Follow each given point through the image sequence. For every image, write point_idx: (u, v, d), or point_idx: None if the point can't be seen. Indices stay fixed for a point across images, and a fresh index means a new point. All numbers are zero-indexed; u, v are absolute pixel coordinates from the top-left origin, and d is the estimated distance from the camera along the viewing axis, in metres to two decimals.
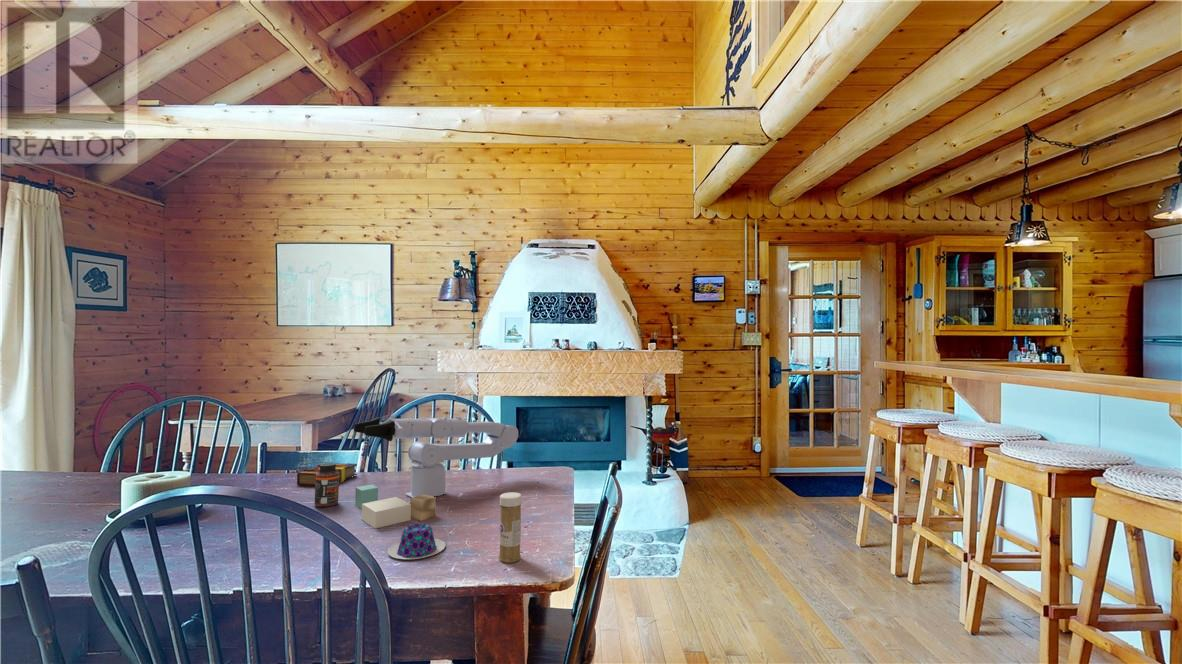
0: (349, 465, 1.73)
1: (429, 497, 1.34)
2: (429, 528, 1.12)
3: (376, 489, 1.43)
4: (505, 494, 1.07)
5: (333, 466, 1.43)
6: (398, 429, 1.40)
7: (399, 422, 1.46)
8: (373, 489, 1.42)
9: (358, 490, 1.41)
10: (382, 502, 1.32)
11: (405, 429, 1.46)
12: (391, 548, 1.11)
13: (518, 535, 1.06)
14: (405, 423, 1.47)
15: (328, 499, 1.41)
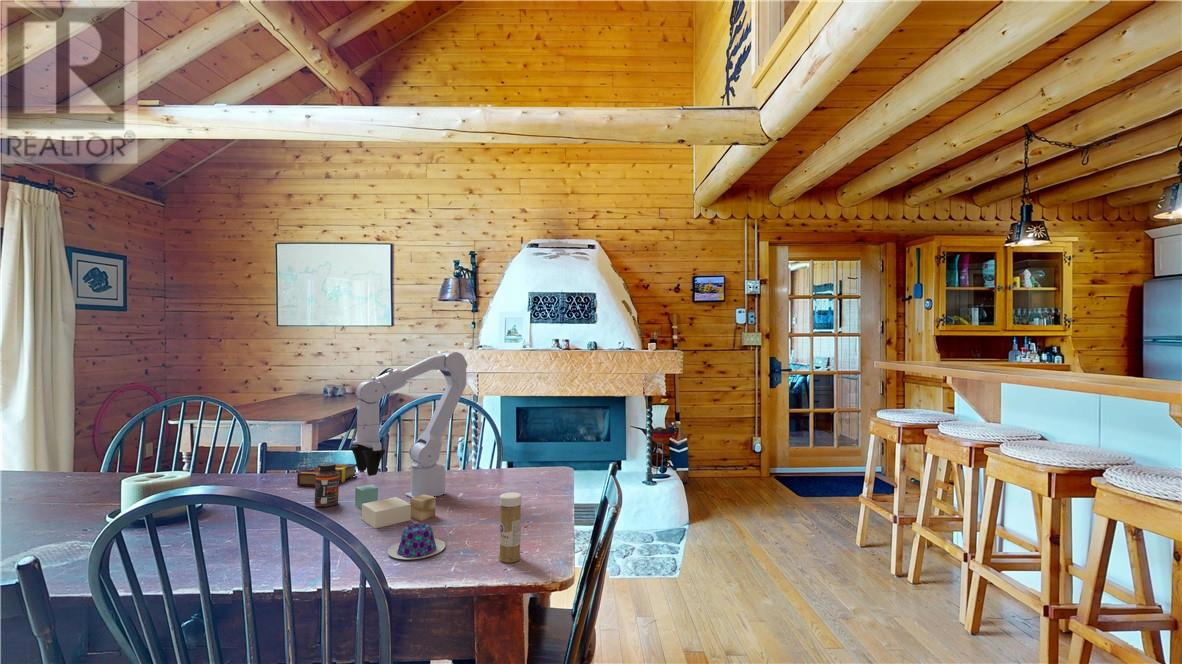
0: (349, 465, 1.72)
1: (429, 497, 1.34)
2: (429, 528, 1.12)
3: (376, 489, 1.43)
4: (505, 494, 1.07)
5: (333, 466, 1.43)
6: (375, 449, 1.38)
7: (363, 438, 1.41)
8: (373, 489, 1.42)
9: (358, 490, 1.41)
10: (382, 502, 1.32)
11: (371, 431, 1.41)
12: (391, 548, 1.11)
13: (518, 535, 1.06)
14: (364, 431, 1.41)
15: (328, 499, 1.41)
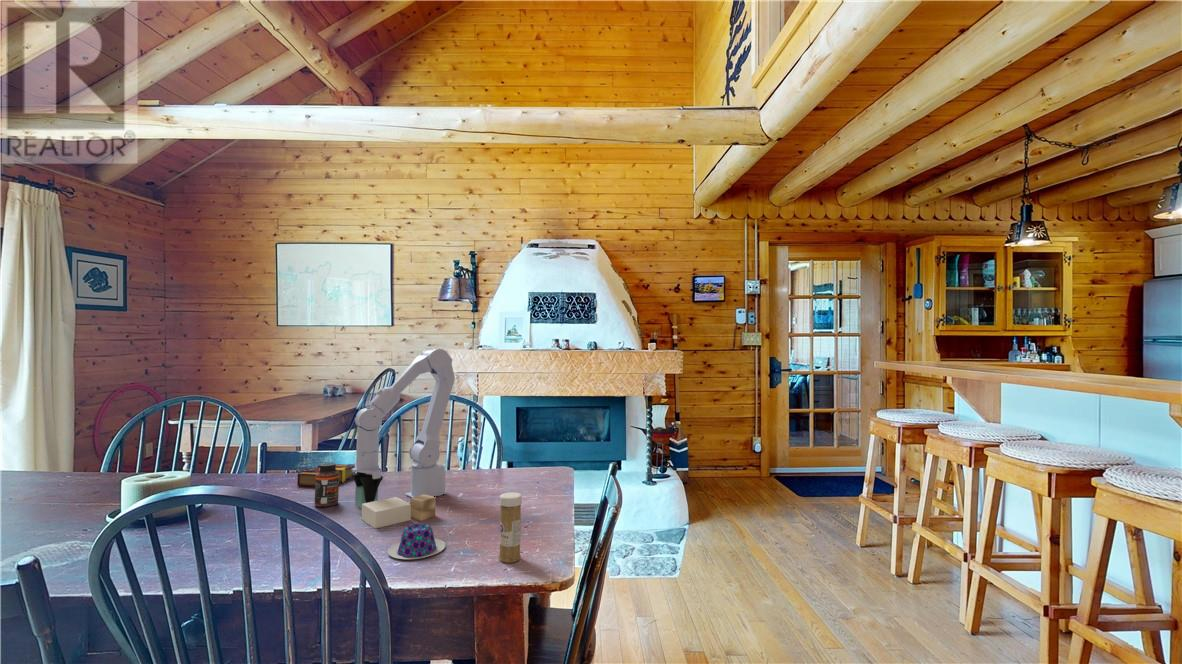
0: (350, 466, 1.72)
1: (429, 497, 1.34)
2: (429, 528, 1.12)
3: None
4: (505, 494, 1.07)
5: (333, 466, 1.43)
6: (374, 477, 1.37)
7: (362, 465, 1.40)
8: None
9: (358, 490, 1.41)
10: (382, 502, 1.32)
11: (371, 459, 1.41)
12: (391, 548, 1.11)
13: (518, 535, 1.06)
14: (364, 459, 1.41)
15: (328, 499, 1.41)
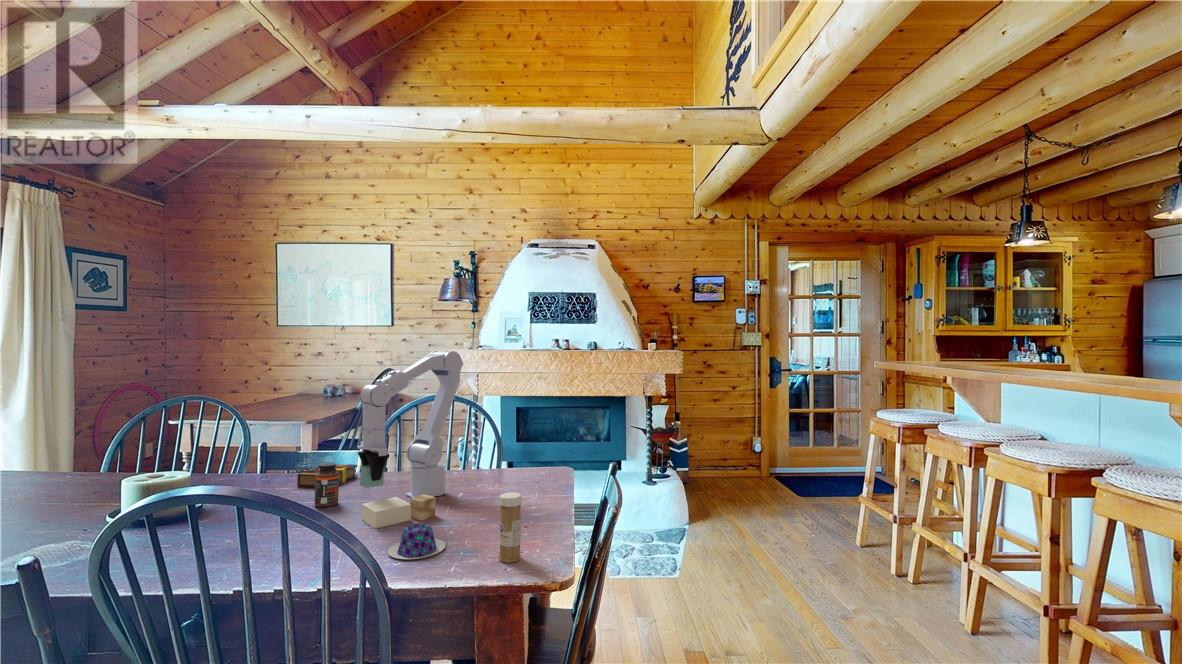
0: (350, 466, 1.71)
1: (429, 497, 1.34)
2: (429, 528, 1.12)
3: None
4: (505, 494, 1.07)
5: (333, 466, 1.43)
6: (381, 454, 1.34)
7: (368, 442, 1.37)
8: None
9: (363, 469, 1.38)
10: (382, 502, 1.32)
11: (377, 436, 1.37)
12: (391, 549, 1.11)
13: (518, 535, 1.06)
14: (370, 436, 1.37)
15: (328, 499, 1.41)
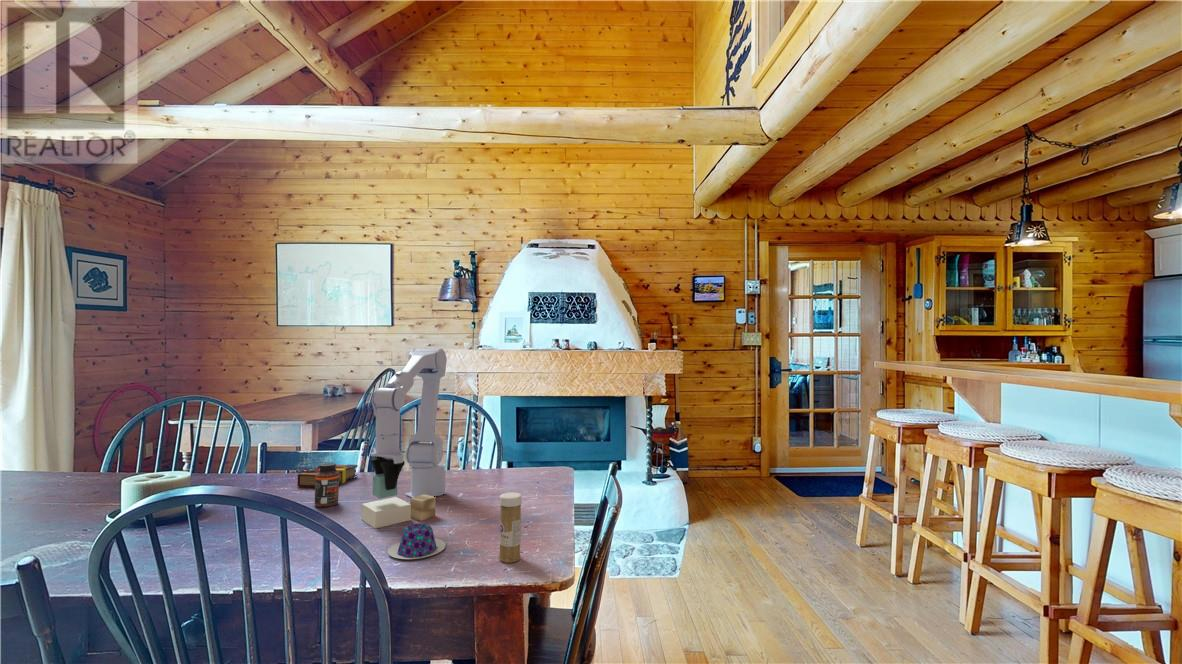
0: (350, 466, 1.71)
1: (429, 497, 1.34)
2: (430, 528, 1.12)
3: None
4: (505, 494, 1.07)
5: (333, 466, 1.43)
6: (396, 461, 1.26)
7: (382, 449, 1.28)
8: None
9: (376, 478, 1.29)
10: (382, 502, 1.32)
11: (391, 442, 1.29)
12: (390, 549, 1.11)
13: (518, 535, 1.06)
14: (384, 442, 1.29)
15: (328, 499, 1.41)
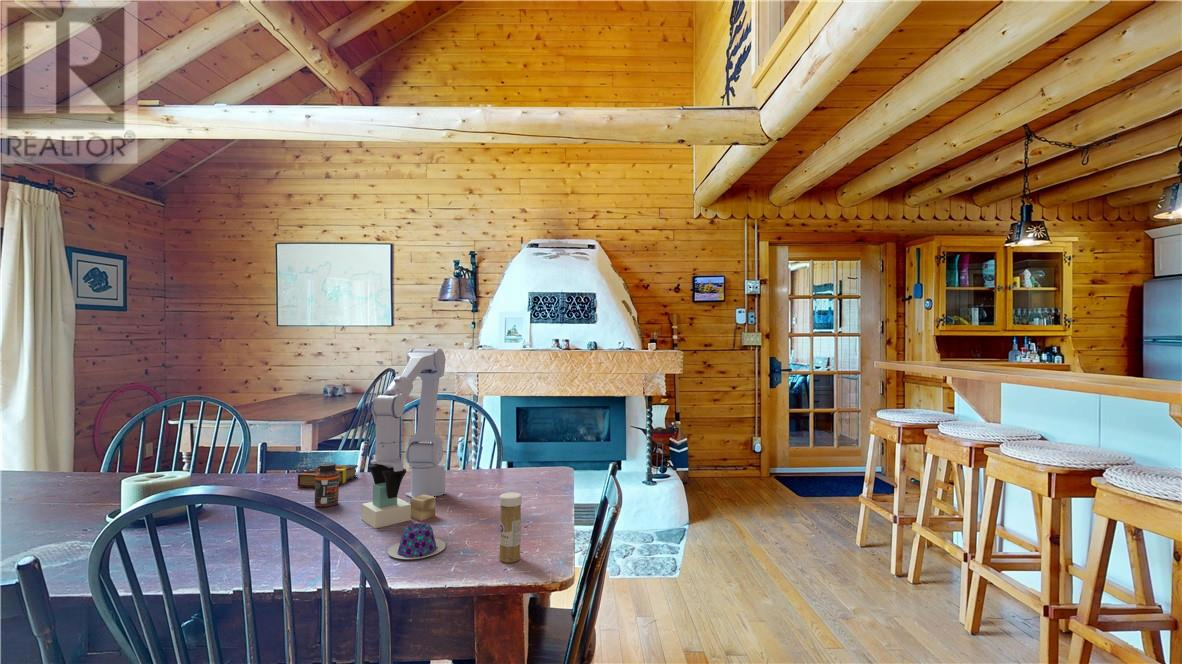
0: (350, 466, 1.71)
1: (429, 497, 1.34)
2: (430, 528, 1.12)
3: None
4: (505, 494, 1.07)
5: (333, 466, 1.43)
6: (396, 469, 1.25)
7: (382, 457, 1.28)
8: None
9: (376, 488, 1.29)
10: None
11: (391, 450, 1.29)
12: (390, 549, 1.11)
13: (518, 535, 1.06)
14: (384, 450, 1.28)
15: (328, 499, 1.41)
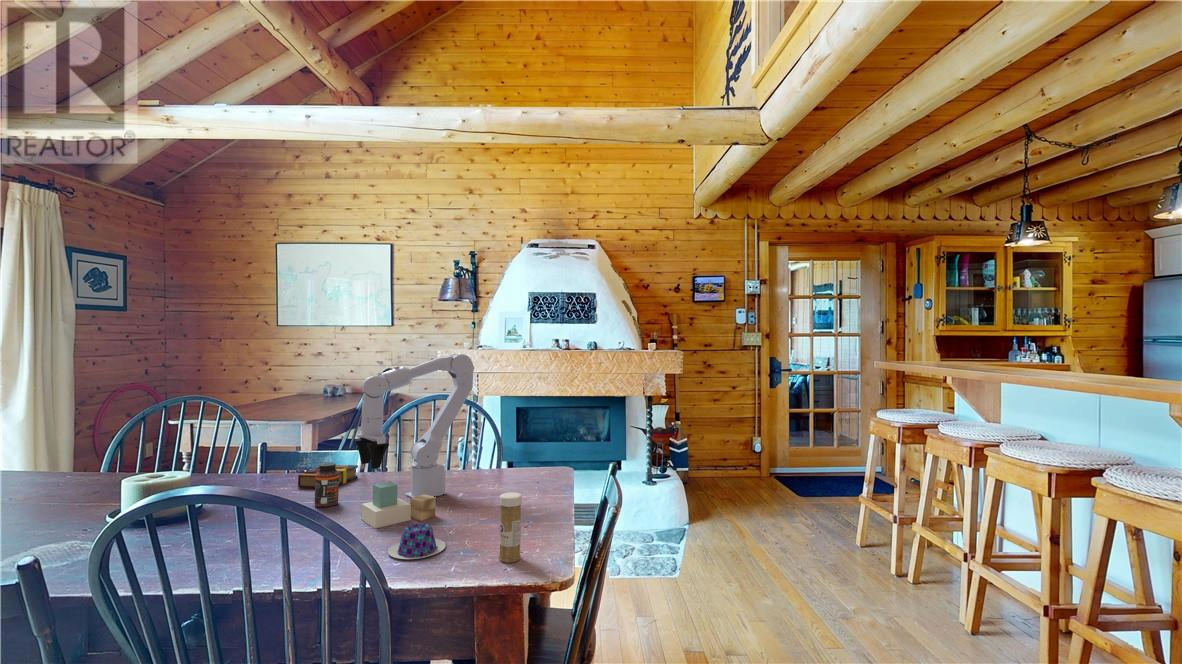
0: (350, 467, 1.70)
1: (429, 497, 1.34)
2: (430, 527, 1.12)
3: (395, 486, 1.30)
4: (505, 494, 1.07)
5: (333, 466, 1.43)
6: (379, 442, 1.40)
7: (367, 431, 1.43)
8: (392, 486, 1.30)
9: (376, 488, 1.29)
10: None
11: (375, 425, 1.44)
12: (390, 549, 1.11)
13: (518, 535, 1.06)
14: (369, 425, 1.43)
15: (328, 499, 1.41)
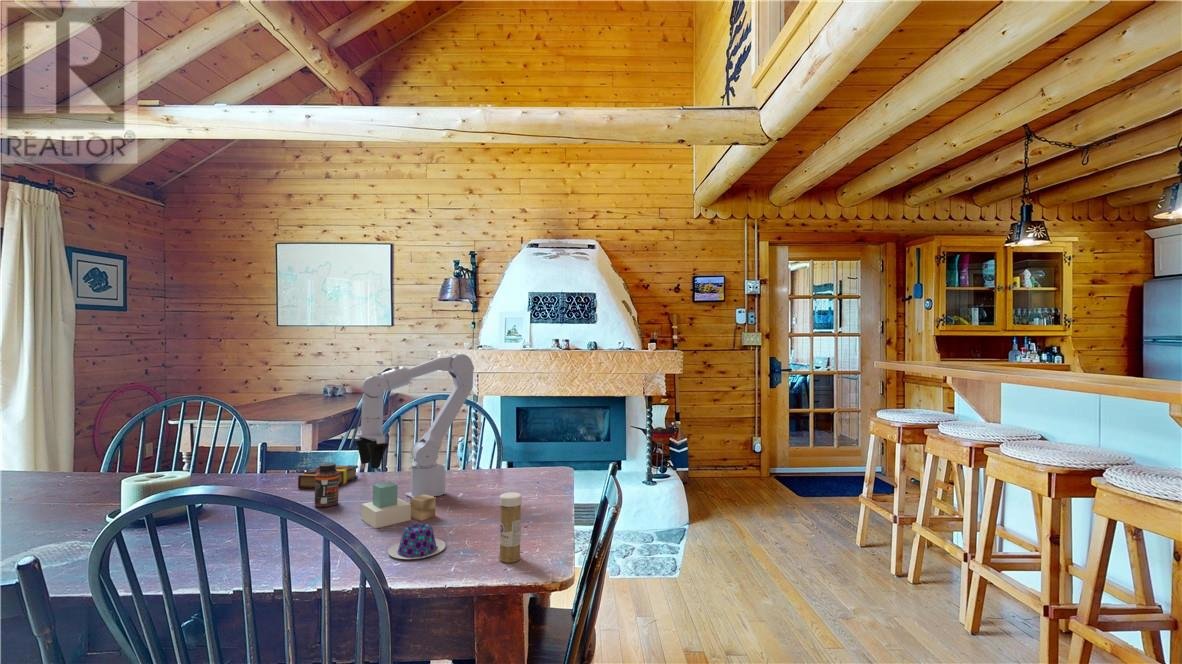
0: (350, 467, 1.70)
1: (429, 497, 1.34)
2: (430, 527, 1.12)
3: (395, 486, 1.30)
4: (505, 494, 1.07)
5: (333, 466, 1.43)
6: (379, 442, 1.40)
7: (367, 431, 1.43)
8: (392, 486, 1.30)
9: (376, 488, 1.29)
10: None
11: (375, 425, 1.44)
12: (390, 550, 1.10)
13: (518, 535, 1.06)
14: (368, 425, 1.44)
15: (328, 499, 1.41)
